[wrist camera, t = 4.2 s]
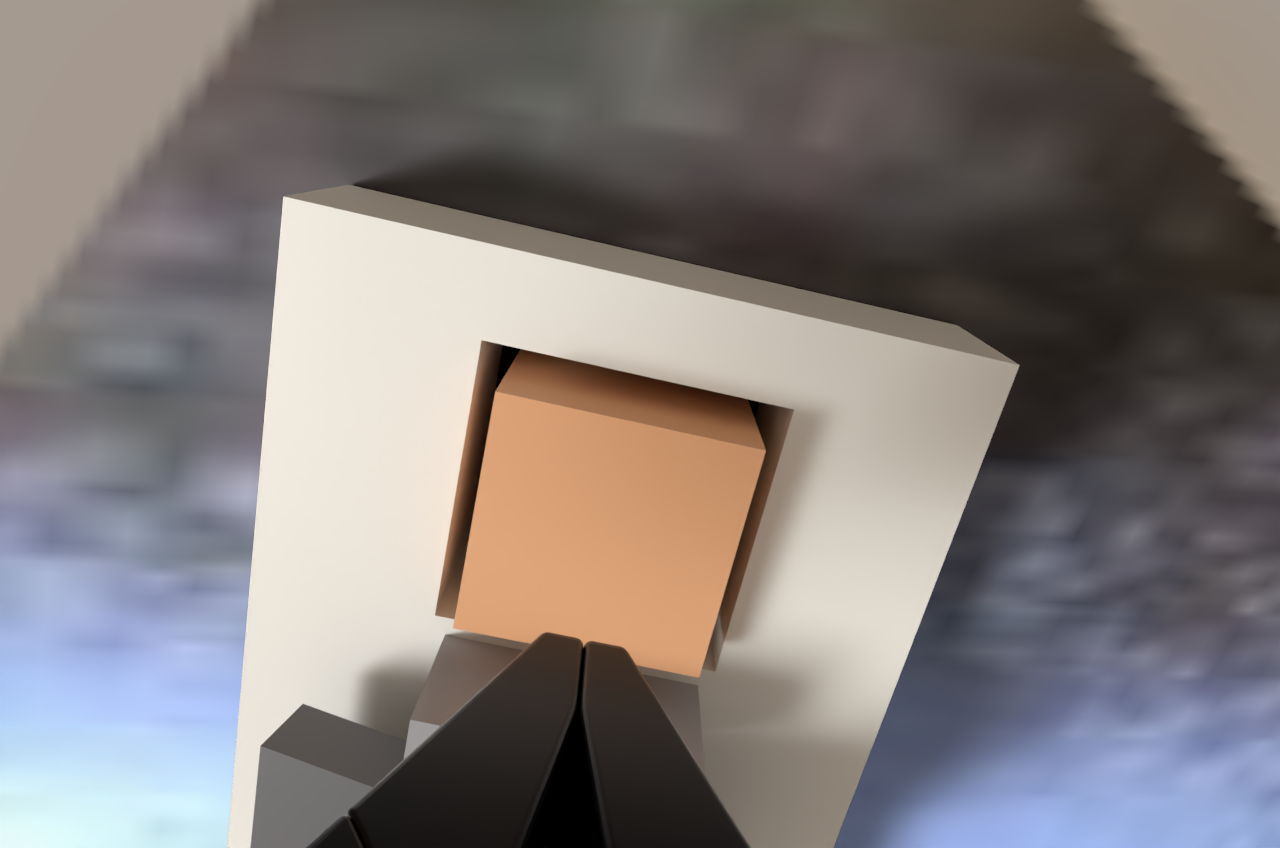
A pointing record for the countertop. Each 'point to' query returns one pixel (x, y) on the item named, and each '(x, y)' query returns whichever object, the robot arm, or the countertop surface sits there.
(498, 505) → the push button
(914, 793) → the countertop surface
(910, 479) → the switch panel
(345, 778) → the rocker switch
